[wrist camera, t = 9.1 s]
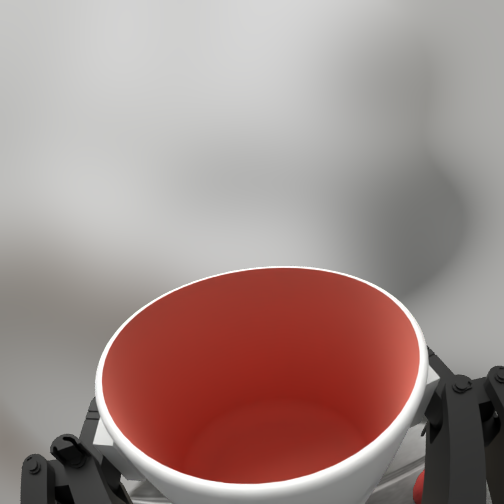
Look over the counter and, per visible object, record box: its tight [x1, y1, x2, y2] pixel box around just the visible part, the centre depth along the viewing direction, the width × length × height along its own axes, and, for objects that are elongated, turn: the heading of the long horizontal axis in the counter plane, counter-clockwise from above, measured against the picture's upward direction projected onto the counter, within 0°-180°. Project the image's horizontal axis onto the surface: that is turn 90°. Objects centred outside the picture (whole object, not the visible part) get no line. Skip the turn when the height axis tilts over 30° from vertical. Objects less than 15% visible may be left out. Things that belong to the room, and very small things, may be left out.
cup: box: [95, 266, 429, 504], centre depth 10 cm, size 10×10×10 cm
